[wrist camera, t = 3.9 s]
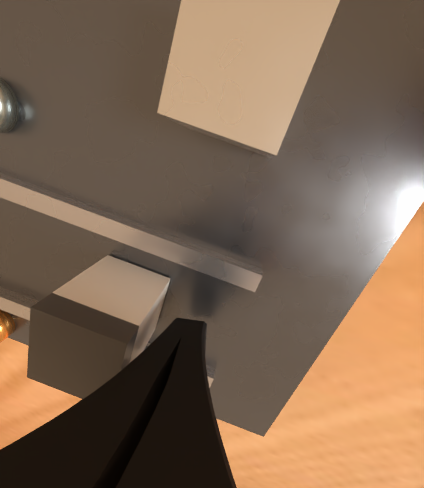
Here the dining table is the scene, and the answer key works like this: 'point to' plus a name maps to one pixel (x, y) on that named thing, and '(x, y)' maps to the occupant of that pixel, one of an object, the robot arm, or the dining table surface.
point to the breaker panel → (212, 166)
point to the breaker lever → (94, 325)
